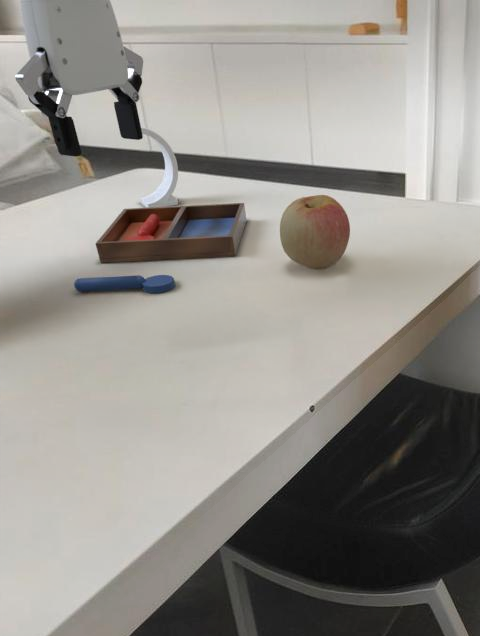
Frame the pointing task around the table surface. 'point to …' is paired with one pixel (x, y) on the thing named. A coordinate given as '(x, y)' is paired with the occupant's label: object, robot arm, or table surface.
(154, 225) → the red spoon
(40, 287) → the table surface
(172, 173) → the headphone stand
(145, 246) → the tray
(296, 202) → the apple
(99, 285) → the blue spoon
